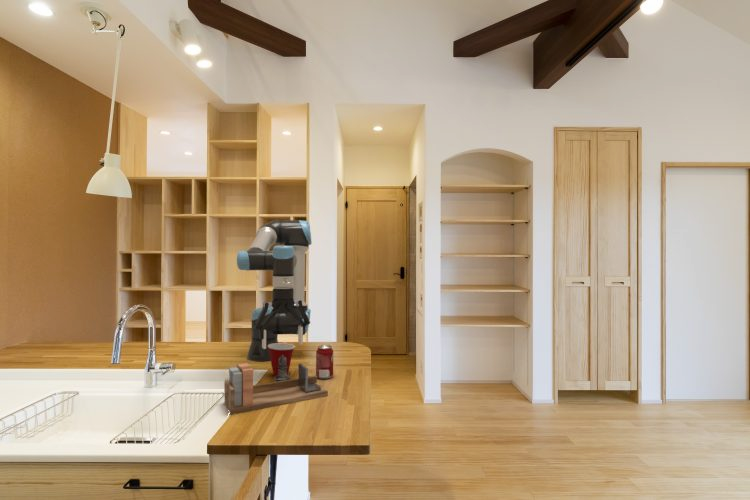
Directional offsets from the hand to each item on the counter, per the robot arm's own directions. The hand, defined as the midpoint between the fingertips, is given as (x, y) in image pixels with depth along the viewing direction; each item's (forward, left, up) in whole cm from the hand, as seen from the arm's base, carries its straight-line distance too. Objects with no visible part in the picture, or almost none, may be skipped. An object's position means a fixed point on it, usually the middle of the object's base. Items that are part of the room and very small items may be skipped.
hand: (282, 346), depth 145 cm
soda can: (-3, +18, -15) cm, 24 cm away
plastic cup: (-14, +4, -15) cm, 21 cm away
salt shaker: (0, 0, -15) cm, 15 cm away
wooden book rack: (+10, -5, -15) cm, 19 cm away
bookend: (+10, +7, -13) cm, 18 cm away
